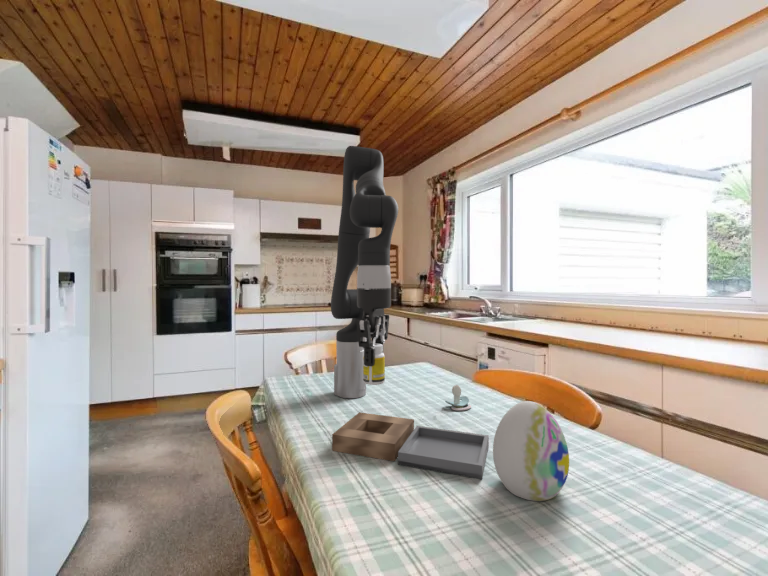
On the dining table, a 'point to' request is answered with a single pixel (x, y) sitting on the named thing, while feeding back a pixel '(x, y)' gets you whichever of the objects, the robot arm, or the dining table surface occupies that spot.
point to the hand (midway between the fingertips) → (373, 362)
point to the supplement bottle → (375, 368)
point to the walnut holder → (373, 436)
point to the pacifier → (457, 403)
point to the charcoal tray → (445, 451)
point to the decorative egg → (531, 452)
